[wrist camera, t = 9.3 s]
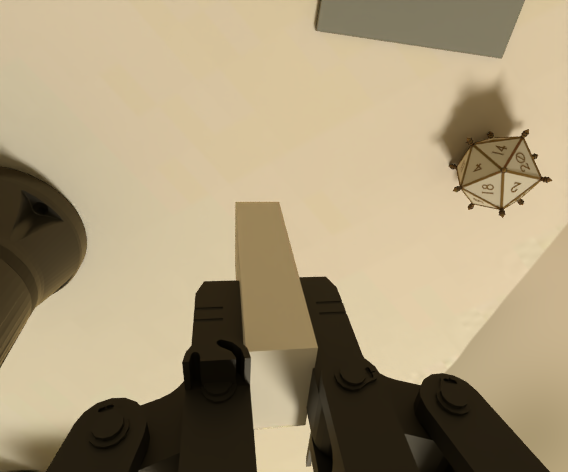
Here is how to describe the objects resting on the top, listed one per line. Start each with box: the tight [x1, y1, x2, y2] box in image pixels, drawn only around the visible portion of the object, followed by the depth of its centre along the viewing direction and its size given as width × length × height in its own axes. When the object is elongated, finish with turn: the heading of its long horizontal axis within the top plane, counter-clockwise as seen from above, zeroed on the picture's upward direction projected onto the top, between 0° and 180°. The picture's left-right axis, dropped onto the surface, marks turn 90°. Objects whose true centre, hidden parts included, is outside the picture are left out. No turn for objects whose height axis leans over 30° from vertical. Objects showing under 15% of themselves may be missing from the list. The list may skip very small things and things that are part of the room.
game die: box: [449, 129, 552, 218], centre depth 40 cm, size 9×8×10 cm
